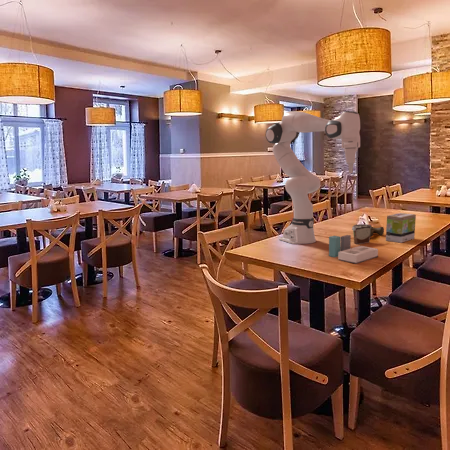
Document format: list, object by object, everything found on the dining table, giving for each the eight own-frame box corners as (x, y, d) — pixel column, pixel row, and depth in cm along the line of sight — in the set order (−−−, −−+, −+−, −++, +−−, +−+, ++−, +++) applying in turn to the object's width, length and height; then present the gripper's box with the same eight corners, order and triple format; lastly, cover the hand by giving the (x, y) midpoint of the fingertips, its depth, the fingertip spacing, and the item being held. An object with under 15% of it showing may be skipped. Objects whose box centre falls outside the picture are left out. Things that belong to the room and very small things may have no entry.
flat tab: (340, 253, 215) (340, 236, 213) (347, 251, 218) (347, 234, 216) (343, 254, 213) (344, 237, 212) (350, 252, 216) (350, 235, 215)
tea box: (402, 243, 231) (403, 217, 229) (385, 240, 239) (386, 215, 237) (415, 238, 241) (416, 213, 238) (398, 236, 248) (399, 212, 246)
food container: (363, 240, 243) (363, 223, 241) (371, 242, 238) (371, 224, 236) (347, 242, 238) (347, 225, 236) (354, 244, 232) (355, 227, 230)
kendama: (358, 238, 250) (371, 232, 265) (374, 240, 244) (386, 234, 258) (358, 229, 248) (371, 222, 263) (374, 231, 242) (386, 224, 257)
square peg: (328, 256, 210) (329, 236, 209) (333, 254, 213) (334, 235, 211) (335, 257, 207) (335, 237, 206) (340, 256, 210) (340, 236, 208)
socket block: (338, 260, 202) (338, 252, 202) (360, 253, 213) (360, 245, 213) (355, 263, 195) (356, 255, 194) (377, 256, 205) (377, 248, 205)
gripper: (345, 145, 216) (345, 171, 218) (343, 144, 197) (343, 173, 199) (357, 144, 214) (357, 171, 216) (357, 143, 195) (357, 173, 197)
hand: (351, 172), depth 208 cm, fingers open, 8 cm apart
